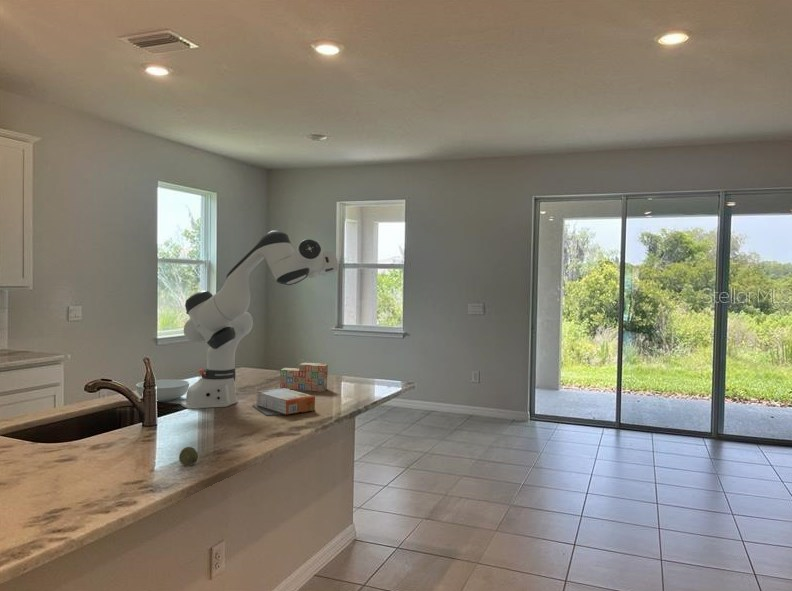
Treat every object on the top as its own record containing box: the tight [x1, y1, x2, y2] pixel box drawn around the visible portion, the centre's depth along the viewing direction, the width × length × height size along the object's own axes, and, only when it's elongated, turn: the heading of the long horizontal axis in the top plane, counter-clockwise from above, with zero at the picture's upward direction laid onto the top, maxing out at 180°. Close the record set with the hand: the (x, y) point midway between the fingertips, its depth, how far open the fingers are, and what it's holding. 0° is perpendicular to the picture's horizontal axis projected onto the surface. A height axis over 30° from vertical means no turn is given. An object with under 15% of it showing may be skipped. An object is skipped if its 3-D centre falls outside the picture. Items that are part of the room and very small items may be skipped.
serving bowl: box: [135, 379, 190, 403], centre depth 247 cm, size 21×21×7 cm
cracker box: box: [255, 388, 316, 415], centre depth 236 cm, size 14×6×21 cm
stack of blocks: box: [279, 362, 329, 392], centre depth 278 cm, size 21×6×12 cm, turn 82°
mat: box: [252, 404, 316, 417], centre depth 237 cm, size 20×18×1 cm
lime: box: [178, 446, 199, 467], centre depth 166 cm, size 4×5×5 cm
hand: (311, 276), depth 217 cm, fingers open, 8 cm apart
